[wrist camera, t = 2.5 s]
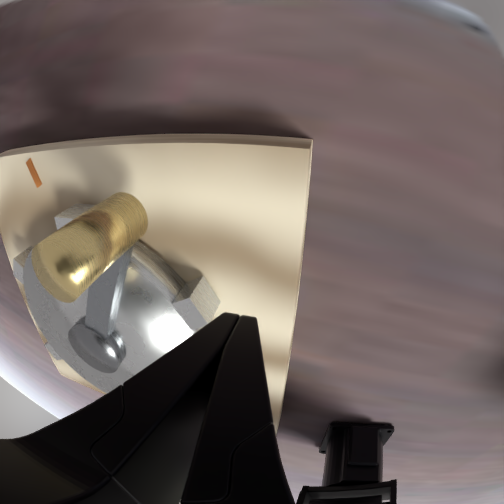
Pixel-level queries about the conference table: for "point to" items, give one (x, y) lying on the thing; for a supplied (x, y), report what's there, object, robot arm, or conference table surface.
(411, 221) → the conference table surface
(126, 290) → the silver lever dial
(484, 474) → the conference table surface
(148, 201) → the base plate
